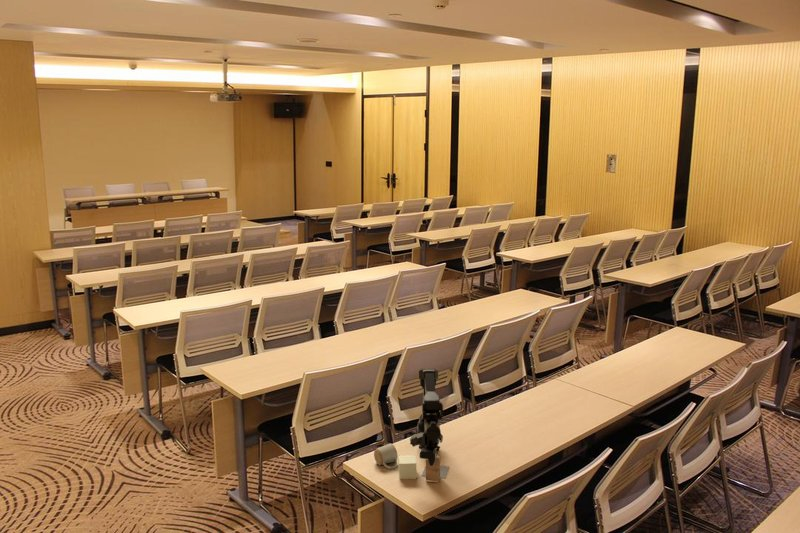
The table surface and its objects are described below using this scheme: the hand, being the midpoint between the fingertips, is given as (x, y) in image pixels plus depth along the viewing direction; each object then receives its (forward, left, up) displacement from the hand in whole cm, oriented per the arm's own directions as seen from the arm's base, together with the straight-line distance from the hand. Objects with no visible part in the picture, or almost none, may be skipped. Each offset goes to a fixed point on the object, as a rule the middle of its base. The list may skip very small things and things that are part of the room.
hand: (431, 465), depth 275 cm
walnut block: (-3, 0, -8) cm, 8 cm away
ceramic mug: (-12, -21, -8) cm, 26 cm away
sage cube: (-5, -11, -8) cm, 14 cm away
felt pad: (-10, 0, -8) cm, 13 cm away
